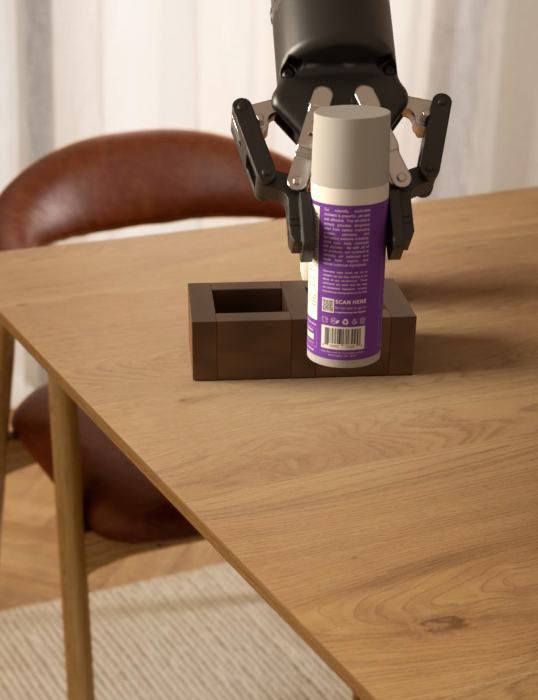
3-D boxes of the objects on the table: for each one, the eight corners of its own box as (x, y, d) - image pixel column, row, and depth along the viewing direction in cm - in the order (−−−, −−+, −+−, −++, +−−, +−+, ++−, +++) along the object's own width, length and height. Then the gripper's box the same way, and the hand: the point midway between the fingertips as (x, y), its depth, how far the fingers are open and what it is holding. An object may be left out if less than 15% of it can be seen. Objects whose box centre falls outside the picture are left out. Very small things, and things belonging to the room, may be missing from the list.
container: (395, 354, 75) (409, 110, 68) (348, 374, 72) (357, 122, 65) (339, 336, 78) (347, 101, 71) (291, 355, 75) (294, 112, 68)
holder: (390, 332, 106) (393, 277, 103) (412, 374, 97) (417, 316, 94) (188, 337, 105) (187, 283, 102) (192, 380, 96) (191, 322, 94)
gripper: (220, -24, 72) (235, 227, 66) (454, -30, 72) (487, 219, 67) (217, 56, 79) (230, 288, 74) (430, 50, 79) (457, 280, 74)
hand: (352, 253), depth 70 cm, fingers closed on container, 4 cm apart
